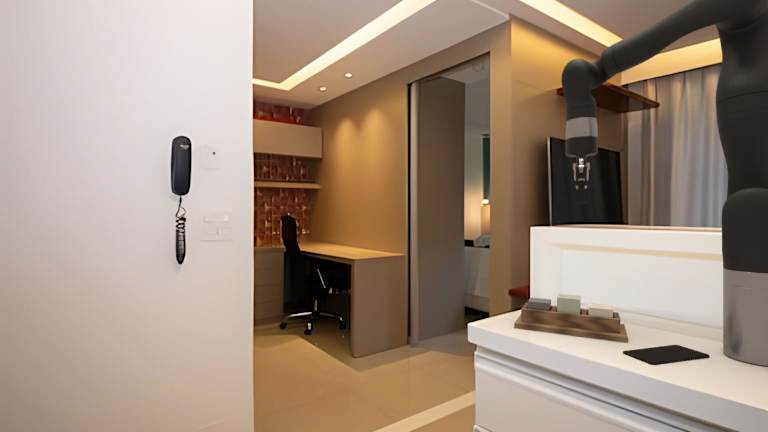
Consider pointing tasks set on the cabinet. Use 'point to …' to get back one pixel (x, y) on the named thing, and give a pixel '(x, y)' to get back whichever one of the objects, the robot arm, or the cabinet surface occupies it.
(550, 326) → the wooden tray
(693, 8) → the robot arm
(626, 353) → the smartphone
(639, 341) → the cabinet surface
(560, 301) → the key sage
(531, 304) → the key charcoal
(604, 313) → the beige cube
